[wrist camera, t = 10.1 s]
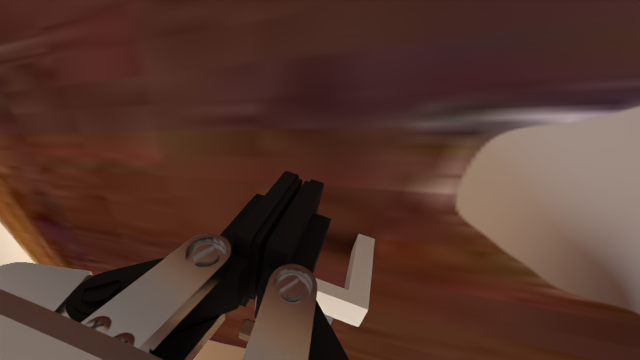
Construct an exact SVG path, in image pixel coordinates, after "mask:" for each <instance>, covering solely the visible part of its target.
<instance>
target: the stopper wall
mask: <svg viewBox="0 0 640 360" xmlns="http://www.w3.org/2000/svg"><path fill="white" fill-rule="evenodd" d="M254 323H255V322H253V321H250V320H248V319H246V320H245V322H244V324H243V326H242V328H241V330H240V332H239V338H241V339H243V340H246V341H248V342H249V339H250V336H251V333H252V330H253V326H254Z"/></svg>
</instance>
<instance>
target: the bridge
mask: <svg viewBox="0 0 640 360" xmlns="http://www.w3.org/2000/svg"><path fill="white" fill-rule="evenodd" d="M374 242H375V239H374V238H371V237H368V236H365V235H362V234H358V236H357V239H356V241H355V244H354V246H353V249H352V252H351V257H350V262H349V267H348V272H347V277H346V283H345V288H341V287H338V286H336V285H333V284H330V283H327V282H325V281H322V280H319V279H316V281H317V289H318V290H317V298H316V300H317V302H318V304H319V305H320V307H321V309H322V311H323V313H324V314H325V315H328V316H331V317H333V318H336V319H338V320H341V321H344V322H346V323H349V324H352V325H354V326H357V327H359V325H360V323H361V322H362V320H363V318H364V316H365V314H366V313H367V311H368V306H369V295H370V285H371V274H372V264H373V253H374Z"/></svg>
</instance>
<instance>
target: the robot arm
mask: <svg viewBox="0 0 640 360" xmlns="http://www.w3.org/2000/svg"><path fill="white" fill-rule="evenodd" d="M298 178H299V175H297V174H294V173H291V172H288V171H285V172H284V173H283V174H282V176H281V177H280V178H279V179H278V181H277V182H276V183H275V184H274V185H273V187H272V188H271V189H270V190H269V191H268V193H267V194H266V195H265V196H263V195H260V194H256V195H255V196H254V197H253V198H252V200H251V201H250V202H249V203H248V204H247V205H246V206H245V207H244V209H243V210H242V211H241V212H240V213H239V214H238V215H237V216H236V218H235V219H234V220H233V221H232V222H231V223H230V224H229V225H228V227H227V228H226V229H225V230H224V231H223V232H222V233H221V235H217V234H202V235H199V236H196V237H194V238H192V239H190V240H189V241H187V242H186V243H184V244H183V245H182V246H181V247H179V248H178V249H177V250H175V251H174V252H173V253H171V254H170V255H169V256H167V257H165V258H161V259H157V260H152V261H148V262H144V263H140V264H136V265H132V266H128V267H123V268H119V269H115V270H111V271H107V272H103V273H100V274H98V275H92V273H91V271H84V270H77V269H69V268H62V267H55V266H48V265H41V264H33V263H26V262H15V263H10V264H6V265H2V266H0V360H193V359H194V358H195V356H196V355H197V354H198V353H199V351H200V350H201V349H202V347H203V346H204V345H205V344H206V342H207V341H208V340H209V339H210V337H211V336H212V335H213V334H214V332H215V331H216V330H217V329H218V327H219V326H220V325H221V324H222V322H223V321H224V320H225V318H226V317H227V315H228V313H229V312H230V311H233V310H235V309H237V308H238V306H239V305H242V306H244V307H245V306H246V305H247V303H248V301H249V299H253V300H255V298H256V297H257V300H256V308H255V319H256V320H255V323H254V326H253V330H252V333H251V336H250V339H249V342H248V345H247V348H246V351H245V354H244V357H243V360H349V359H348V357H347V355H346V353H345V352H344V350H343V348H342V346H341V344H340V342H339V340H338V339H337V337H336V335H335V333H334V331H333V329H332V328H331V326H330V324H329V322H328V320H327V318H326V316H325V315H324V313H323V311H322V309H321V307H320V305H319V304H318V302H317V300H316V298H317V290H318V289H317V281H316V278H315V276H314V275H313V272H314V269H315V266H316V263H317V261H318V258H319V255H320V252H321V249H322V246H323V243H324V240H325V237H326V234H327V231H328V228H329V225H330V221H331V219H330V218H327V217H324V216H321V215H318V214H316V213H317V209H318V205H319V202H320V198H321V194H322V190H323V186H324V183H322V182H318V181H315V180H312V179H311V180H310V182H307V181H305V182H304V184H303V185H302V180H301V179H298ZM301 185H302V187H301Z"/></svg>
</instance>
